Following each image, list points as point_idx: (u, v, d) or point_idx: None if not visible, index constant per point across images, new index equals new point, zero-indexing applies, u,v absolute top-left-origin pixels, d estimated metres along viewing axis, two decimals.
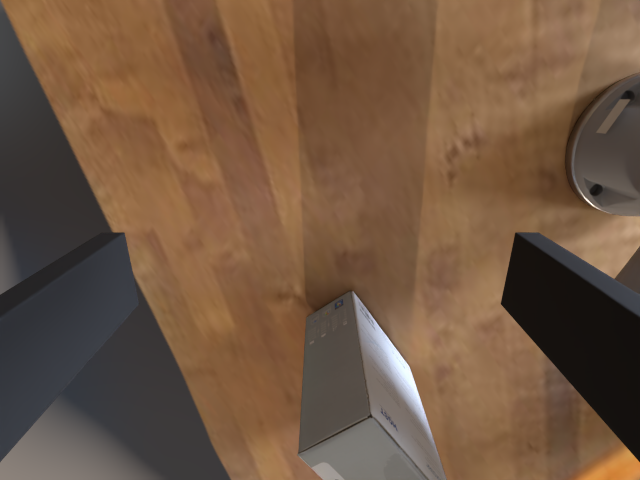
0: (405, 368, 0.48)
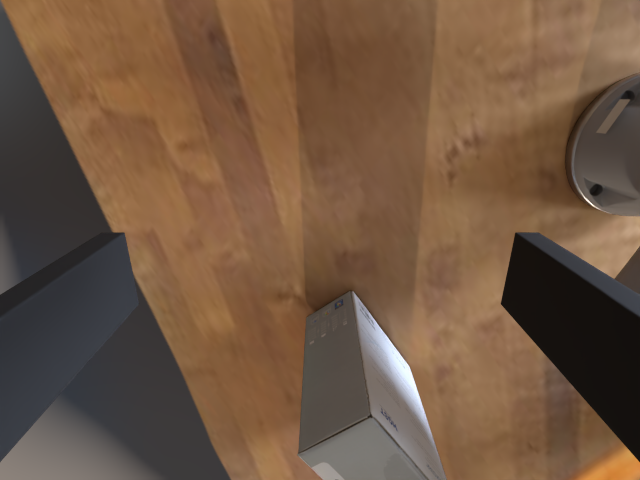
0: (405, 368, 0.48)
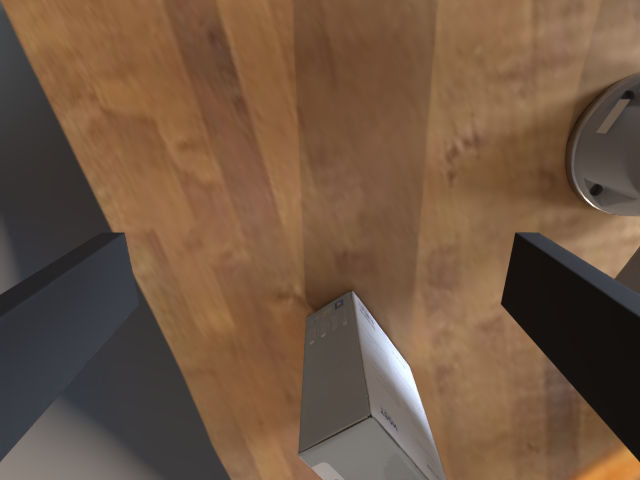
0: (405, 368, 0.48)
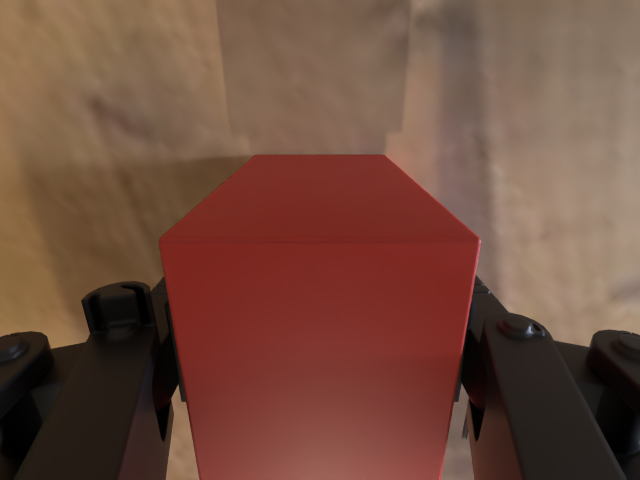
0: None
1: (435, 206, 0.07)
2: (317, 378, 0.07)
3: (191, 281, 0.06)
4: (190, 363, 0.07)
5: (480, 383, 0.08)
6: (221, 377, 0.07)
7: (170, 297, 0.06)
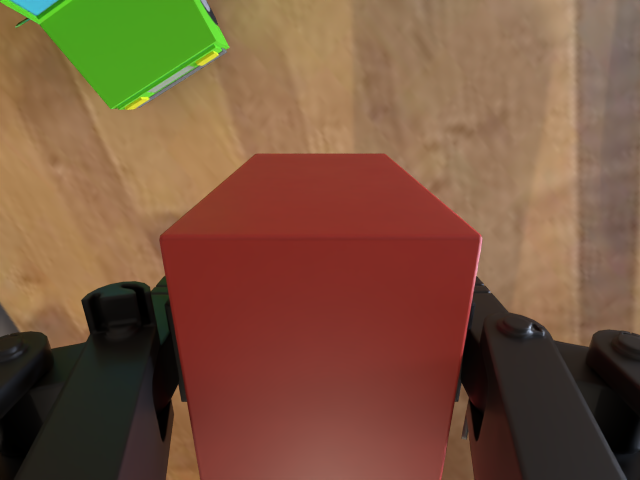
0: None
1: (437, 203, 0.07)
2: (318, 376, 0.07)
3: (192, 278, 0.06)
4: (191, 361, 0.07)
5: (480, 383, 0.08)
6: (222, 374, 0.07)
7: (171, 294, 0.06)
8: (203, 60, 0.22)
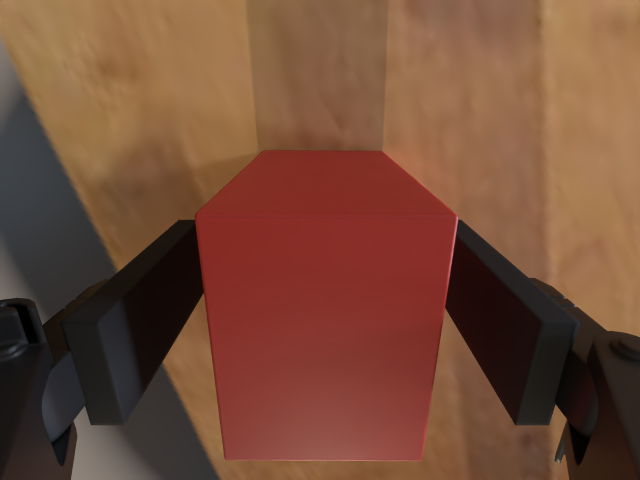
0: None
1: (424, 192, 0.09)
2: (322, 335, 0.08)
3: (220, 249, 0.07)
4: (216, 320, 0.08)
5: (584, 404, 0.07)
6: (243, 332, 0.08)
7: (202, 263, 0.07)
8: None
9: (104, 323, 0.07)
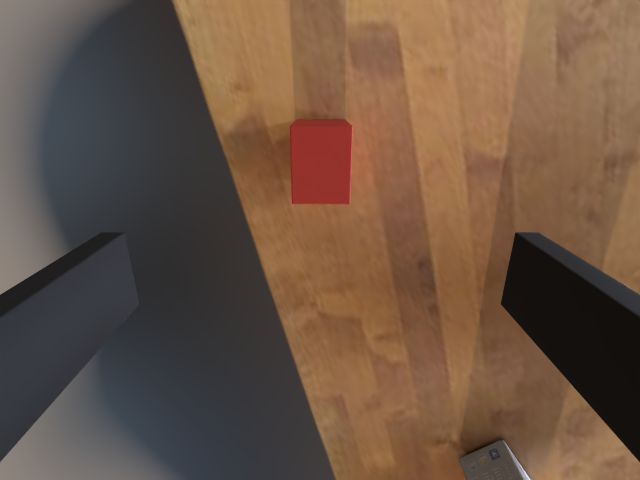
0: None
1: (348, 124, 0.32)
2: (320, 159, 0.31)
3: (296, 134, 0.30)
4: (293, 155, 0.31)
5: None
6: (300, 158, 0.31)
7: (291, 138, 0.30)
8: None
9: None
